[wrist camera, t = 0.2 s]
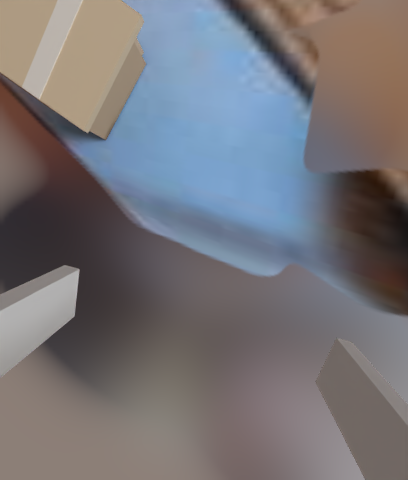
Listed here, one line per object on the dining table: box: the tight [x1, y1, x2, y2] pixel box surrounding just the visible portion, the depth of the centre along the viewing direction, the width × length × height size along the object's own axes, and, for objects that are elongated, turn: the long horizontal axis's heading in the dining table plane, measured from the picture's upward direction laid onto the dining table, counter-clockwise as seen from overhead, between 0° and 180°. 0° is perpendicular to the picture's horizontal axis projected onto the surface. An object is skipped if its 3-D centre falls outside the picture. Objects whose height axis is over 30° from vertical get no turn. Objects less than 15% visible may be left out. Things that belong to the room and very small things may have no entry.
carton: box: [0, 38, 146, 140], centre depth 29 cm, size 15×10×11 cm
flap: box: [0, 0, 144, 133], centre depth 23 cm, size 14×15×1 cm
